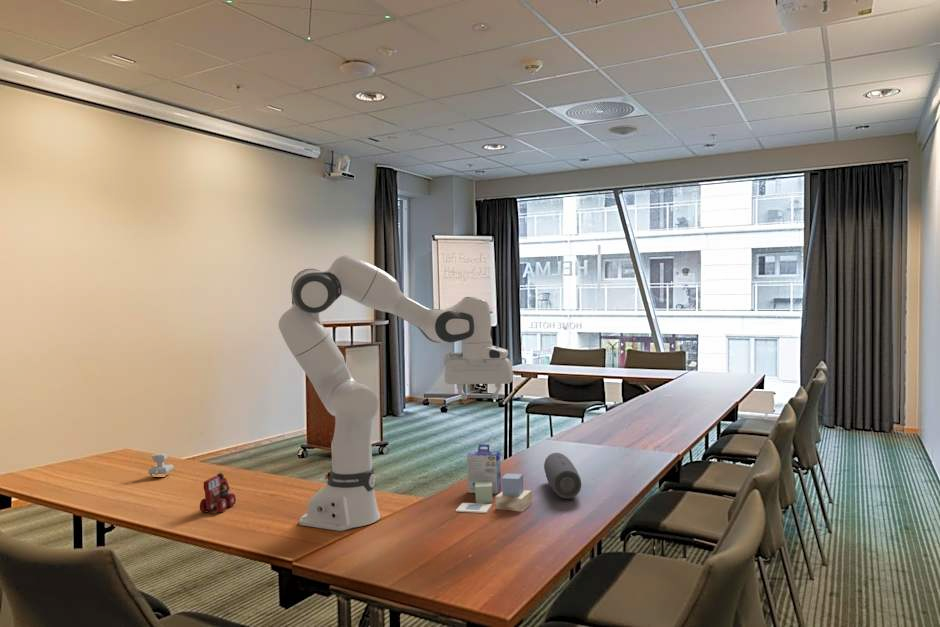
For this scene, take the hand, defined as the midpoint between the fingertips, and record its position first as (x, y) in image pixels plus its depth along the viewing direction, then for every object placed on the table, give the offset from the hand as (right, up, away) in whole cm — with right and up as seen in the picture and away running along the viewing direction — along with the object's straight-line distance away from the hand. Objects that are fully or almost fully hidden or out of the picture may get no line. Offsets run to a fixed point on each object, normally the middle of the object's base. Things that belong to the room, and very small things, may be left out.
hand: (479, 399), depth 190 cm
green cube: (+1, -31, +5) cm, 31 cm away
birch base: (+10, -31, -2) cm, 33 cm away
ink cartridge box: (+2, -31, +14) cm, 34 cm away
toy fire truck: (-80, -35, +8) cm, 87 cm away
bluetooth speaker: (+26, -30, +10) cm, 41 cm away
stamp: (-118, -36, +50) cm, 133 cm away
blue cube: (+10, -27, -2) cm, 29 cm away
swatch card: (-2, -31, -3) cm, 31 cm away
